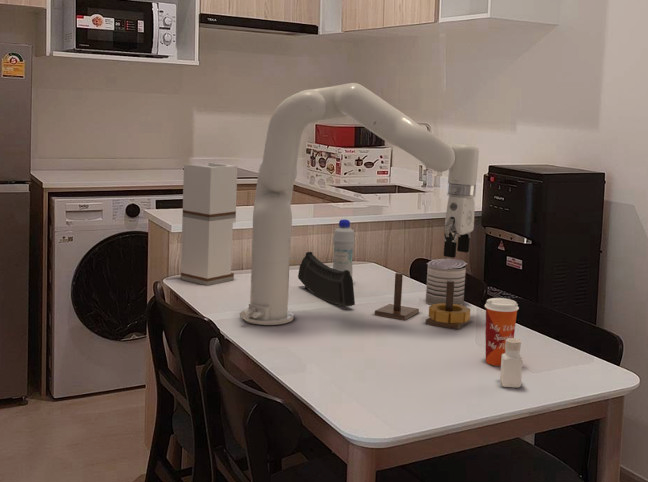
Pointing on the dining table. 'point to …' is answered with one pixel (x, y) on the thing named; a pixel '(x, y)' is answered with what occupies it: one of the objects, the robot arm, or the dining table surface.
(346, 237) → the bottle
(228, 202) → the banded square column
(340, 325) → the dining table surface
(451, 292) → the right peg
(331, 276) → the magazine
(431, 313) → the ring
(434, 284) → the can
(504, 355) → the salt shaker
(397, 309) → the left peg
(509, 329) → the paper cup
